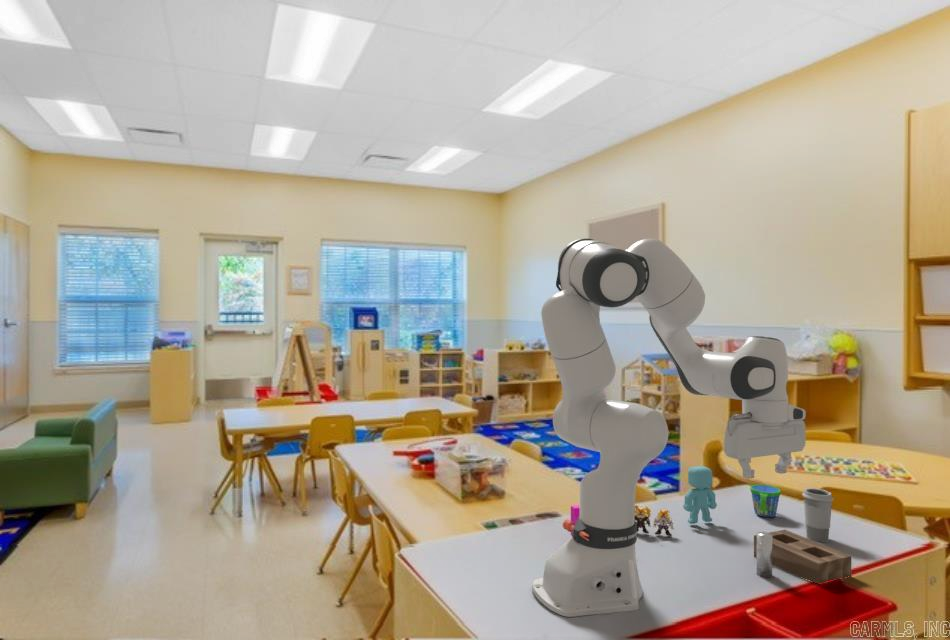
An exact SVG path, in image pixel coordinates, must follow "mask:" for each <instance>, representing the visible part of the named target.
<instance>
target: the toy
mask: <svg viewBox="0 0 950 640" xmlns="http://www.w3.org/2000/svg"><path fill="white" fill-rule="evenodd" d="M687 482H688V484H689V486H690V487H693V488H689V489H688V491H687V492H686V494H685V495H684V504H683V505H682V508H683V510H685V511H686V512H689V518H688V519H687V523H688V524H691V525H695V524H697V523H698V522H699V514H700V511H701V519H702V521H703V522H705V523H709V522H713V518H712V517H711V511H710V510H715V509H716V508H717V506H718V504H717V502H716V493H715V492H714V490H713V489H711V487H712V485H713V471H712V469H711V468H709V467H706V466H704V465H702V466H701V465H699V466H691V467H689V468H688V470H687Z"/></svg>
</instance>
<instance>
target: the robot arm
mask: <svg viewBox="0 0 950 640" xmlns="http://www.w3.org/2000/svg"><path fill="white" fill-rule="evenodd" d="M555 286H556V288H557V290H558V291H559V292H557V293H554V294H553V295H551V296H549V298H548V299H547V300H546V301H545V302H544V303H543V305H542V307H541V312H540V313H541V322H542V326H543V327H542V328H543V331H544V335H545V340H546V342H547V347H548V350H549V352H550V355H551V358H552V361H553V364H554V366H555V368H556V372H557V374H558V375H557V376H558V377H559V380H560V382H561V388H562V396H561V400H560V401H559V402H558V403H557V404H556V407H555V408H554V411H553V415H552V426H553V430H554V433H555V434H556V436H557V437H558V438H560V439H561V440H563V441H565V442H567V443H569V444H571V445H572V446H575V447H577V448H580V449H586V450H589V451H593V452H597V453H598V452H599V456H600V458H599V463H598V466H597V468H595V469H592V470H591V471H589V472H587V473H586V474H585V475H584V476H583V477H582V478H581V481H580V483H579V505H580V516H579V517H578V519H577V521H576V524H575V525H574V523H573V522H571V519H564V521H563V522H562V524H561V525H562V528H563V529H564V530H566V531H567V532H569V533H571V532H572V531H573V532H572V536H570V537H569V538H568V539H567V540H566V541H565V542H564V543H563V544H562V545H561V546H560V547H559V548H558V549H557V550H555V551H554V552H553V553H552V554H550V556H548V558H547V559H546V561H545V564H544V569H543V570H544V571H543V574H542V575H543V576H542V577H539V578H537V579H533V582H532V585H531V587H532V593H533V595H534V596H535V597H536V598H537V600H538V601H539V602H540V603H541V604H542V605H544V606H545V607H546V608H547V609H549V610H550V611H552V612H554V613H556V614H558V615H560V616H563V617H567V618H568V617H569V618H570V617H571V618H573V617H583V616H591V615H601V614H610V613H611V614H613V613H619V612H621V613H623V612H630V611H637V610H639V608H640V604H639V601H640V600H641V598H642V597H643V593H644V591H643V590H644V589H643V587H642V584H641V581H640V575H639V571H638V565H637V556H636V554H637V553H636V542H637V540H638V532H637V524H636V522H637V521H636V520H634V518H635V514H636V513H635V505H636V491H637V490H636V489H637V485H638V482H639V481H638V480H639V478H640V475H641V474H642V471H643V470H644V468H645V467H646V466H647V464H649V463H650V462H651V461H652V460H655V459H656V458H657V457H659V456H660V455H661V454H662V452H663V451H664V450H665V448H666V446H667V444H668V440H669V428H668V424H667V421H666V418H665V417H664V415H663V414H662V413H661V412H660V411H658V410H656V409H653V408H651V407H650V406H646V405H643V404H640V403H637V402H631V401H622V400H615V399H610V398H609V397H608V396H607V395H606V393H605V389H607V388H608V387H609V386H610V385H611V383H612V382H613V381H614V378H615V375H616V368H617V367H616V364H615V360H614V359H613V355H612V353H611V349H610V347H609V344H608V340H607V337H606V334H605V332H604V329H603V326H602V325H601V321H600V320H601V319H600V310H601V307H603V308H618V307H623V306H625V305H626V304H628V303H630V302H632V301H633V300H634V299H637V300H638V301H639V302H640V304H641V306H643V307H644V308H645V310H646V311H647V313H648V315H649V318H648V319H649V324H650V327H651V328H652V331H653V332H654V334H655V336H656V337H657V338H658V340H659V342H660V343H661V345H662V347H663V348H664V350H665V351H666V353H667V355H669V358H670V359H671V360H672V363H673V364H674V366H675V368H676V371H677V373H678V377H679V379H680V381H681V384H682V386H683V387H684V388H685V390H686V391H688V392H689V393H690V394H693V395H697V396H711V397H718V398H725V399H733V400H740V401H741V410H742V411H741V413H740V414H739V413H733V414H732V415H731V417H729V419H728V420H727V422H726V427H725V432H724V439H723V453H724V454H725V456H726V457H728V458H730V459H735V460H737V462H738V464H739V465H740V468H741V469H742V477H743V478H745V479H754V478H755V469H752V467H751V465H750V464H751V462H752V459H753V458H761V457H767V456H775V455H777V456H779V458H778V461H777V463H774V471H775V473H778V474H781V475H782V474H787V473H788V467H787V466H788V465H789V463H790V461H791V458H792V453H796V452H797V453H799V452H802V451H803V450H804V449H805V446H806V440H807V439H806V437H807V433H806V431H807V430H806V423H805V421H804V420H805V419H806V413H807V412H806V410H805V409H804V408H801V407H798V406H794V405H793V404H789V395H788V393H787V383H788V381H789V363H788V354H787V349H786V346H785V343H784V342H783V341H782V340H780V339H778V338H774V337H768V336H762V335H761V336H760V335H757V336H756V335H754V336H753V335H752V336H751V335H750V336H748V337H746V338H745V340H744V344H742V346H741V347H739V348H737V349H736V350H734V351H732V352H722V351H720V352H719V351H711V350H707V349H704V348H701V347H699V346H698V345H697V343H696V342H695V340H694V339H693V337H692V336H691V334H690V332H689V330H688V329H687V328H688V327H689V326H690V325H692V324H693V323H694V322H695V321H696V320H697V319H698V317H700V315H701V313H702V312H703V310H704V307H705V304H706V303H705V301H706V294H705V290H704V289H703V286H702V284H701V283H700V281H699V280H698V279H697V277H696V276H695V275H694V273H693V272H692V271H691V270H690V268H689V267H688V266H687V264H686V263H685V262H684V261H683V260H682V259H681V257H679V256H678V255H677V253H676V252H674V251H673V250H672V249H671V248H670V247H668V245H666V244H665V243H664V242H663V241H661V240H659V239H656V238H653V237H652V238H651V237H650V238H644V239H641V240H638V241H636V242H635V243H633V244H632V245H631V246H629V247H628V249H627V248H626V249H625V250H624V249H622V248H619V247H617V246H614V245H613V244H610V243H608V242H605V241H601V240H596V239H592V238H580V239H576V240H574V241H571V242H570V243H568V244H567V245H566V246H565V247H564V248H563V249H562V251H561V253H560V256H559V258H558V263H557V275H556V281H555Z"/></svg>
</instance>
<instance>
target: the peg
mask: <svg viewBox="0 0 950 640" xmlns="http://www.w3.org/2000/svg"><path fill="white" fill-rule="evenodd" d="M756 535H757V558H756V575H757V576H758V577H760V578H766V579H771V578H772V577H773V565H772V534H770V532H766V531H757V532H756Z"/></svg>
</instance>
